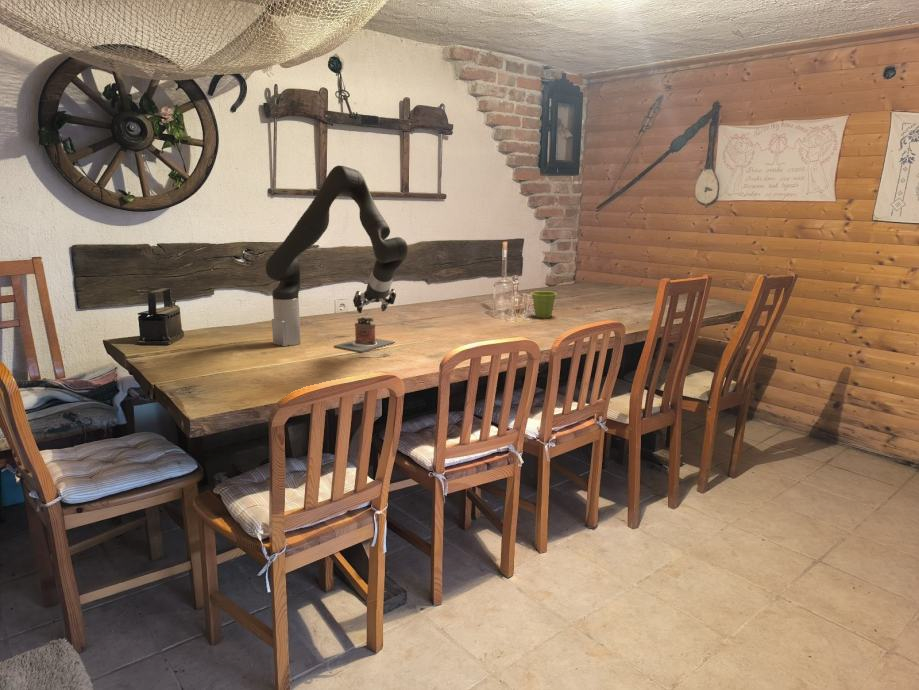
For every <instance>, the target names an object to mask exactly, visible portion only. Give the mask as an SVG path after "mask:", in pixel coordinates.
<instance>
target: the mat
mask: <svg viewBox="0 0 919 690" xmlns="http://www.w3.org/2000/svg"><path fill="white" fill-rule="evenodd" d="M355 341H356V339H353V340H350V341H346V342H342V343H339V344H335V345H333V348H336V349H341V350H346V351H351V352H355V353H361V354H362V353H365V352H369V351H373V349H374V350H376V348H377V349H381V348H383V346H384V347H387V346H386V345H388V346H390V345H389V344H391V345H394V344H393V343H395V344H396V341H392V340H387V339H381V338H376V337H375V341H376V344H375V345H363V344H356V343H355ZM380 347H381V348H380Z"/></svg>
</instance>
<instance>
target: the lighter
mask: <svg viewBox="0 0 919 690" xmlns="http://www.w3.org/2000/svg"><path fill="white" fill-rule="evenodd" d="M371 322H374V318H373V317H367V316H363V317H357V322H355V323H354V327H355V329H354V330H355V331H354V333H355V335H354V336H355V340H356V341H355V343H356V344H363V345H375V344H376V341H375V338H376V323H371Z"/></svg>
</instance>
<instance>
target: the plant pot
mask: <svg viewBox="0 0 919 690" xmlns="http://www.w3.org/2000/svg"><path fill="white" fill-rule="evenodd" d="M530 294H531V296H532V300H533V308H534V315H535V317H536V318H538V319H540V318H541V319H549V318H552V315H553V309H554V304H555V300H556V297H557V294H558V293H557V292H555V291H550V290H549V291H548V290H547V291H545V290H543V291H542V290H541V291H540V290H538V291H533V292H530Z"/></svg>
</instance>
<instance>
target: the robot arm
mask: <svg viewBox="0 0 919 690" xmlns="http://www.w3.org/2000/svg"><path fill="white" fill-rule="evenodd" d="M340 195H341V196H344V197H349V198H351V199H352V200H353V201H354V202H355V203H356V204H357V207H358V209H359V221H360V223H361V226H362V227H363V229H364V230H365V232H366V234H367V235H368V237H369V240H370V243H371V246H372V250H373V253H374V257H375V259H376V260H375V262H374V265H373V268H372V271H371V273H370V276H369V279H368V282H367V286H366V290H365V291H364V292H360V290H357V291H356V292H355V294H354V297H353V300H352V302H353V304H354V305H353V306H354V307H355V308H356V311H357V313H358V314H361V313H362V311H363V308H364V307H365V306H368V305H369V304H371V303H372V304H373V303H380V302H381V305H380V309H381V312H385V311H386V310H387V308H388V306H389V305H394V303H395V300H396V297H397V293H396V290H395V288H392V287H391V286H392V284H393V280H394V275H395V273H396V271H397V269H398V268H399V267H400V266H401V264H402V263H403V262H404V261H405V259H406V257H407V255H408V251H409V250H408V243H407V241H406V240H405V238H402V237H400V236H399V237H398V236H396V237H390V238H388V237H389V236H390V234H391V229H390V226H389V224H388V223H387V222H386V220H385V219H384V217H383V216H382V214H381V212H380V211H379V209H378V208H377V206H376V203H375V200H374V198H373V197H372V194H371V192H370V189H369V187H368V185H367V182H366V180H365V177H364V176H363V174H362V173H361V172H360V171H359V170H356V169H354V168H351V167H348V166H346V165H345V166H344V165H336V166H334V167H333V168H332V169H330V171H329V173H328V174H327V176H326V177H325V179H324V181H323V183H322V185H321V187H320V188H319V190H318V192H317V193H316V195H315V197H314V198H313V200H312V202H310V204H309V206H308V207H307V209H306V210H305V211H304V212H303V214H302V215H301V217H299V219H298V221H297V222H296V223H295V225H294V227H293V228H292V229H291V231H289V233H288V235H287V237H285V239H284V241H282V243H281V244H280V245H279V247H277V249H276V250H274V252H273V253H272V254H271V255H270V256H269V257H268V259H267V261H266V264H265V273H266V275H267V277H268V278H269V279H271V280H272V281H279V284H278V285H277V287H276V288H274V289H273V290H272V308H273V318H272V319H271V329H272V341H273V342H272V343H273V345H276V344H277V345H276V346H280V345H281V347H287V346H288V345H289V346H296V345H299V344H301V342H302V340H301V338H302V337H301V321H300V320H301V319H300V302H299V301H300V300H299V293H300V290H301V265H300V262H299V260H298V259H299V258H298V257H299V256H300V255H301V254H302V253H304V252H305V251H307V250H308V249H309V248H311V247H312V246H313V245H314V244H316V243H317V242H318V241H319V240H320V239H321V237H322V236H323V235H324V233H325V232H326V230H327V229H328V227H329V225H330V224H329V223H330V208H331V207H332V204H333V203H334V201H335V200H336V199H337V198H338V196H340ZM391 288H392V289H391ZM388 296H389V297H388ZM387 297H388V298H387Z"/></svg>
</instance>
